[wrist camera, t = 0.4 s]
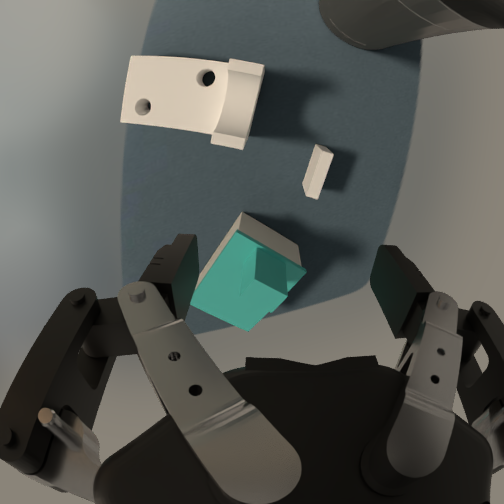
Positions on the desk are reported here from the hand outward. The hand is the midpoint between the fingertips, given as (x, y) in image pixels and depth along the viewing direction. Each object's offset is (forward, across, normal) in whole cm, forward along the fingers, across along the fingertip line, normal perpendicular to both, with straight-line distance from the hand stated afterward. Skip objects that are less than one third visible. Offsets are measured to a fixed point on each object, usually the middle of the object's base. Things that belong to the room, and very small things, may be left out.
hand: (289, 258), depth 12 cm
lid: (+15, +3, +13) cm, 20 cm away
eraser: (+19, -4, 0) cm, 20 cm away
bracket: (+19, +8, -8) cm, 22 cm away
